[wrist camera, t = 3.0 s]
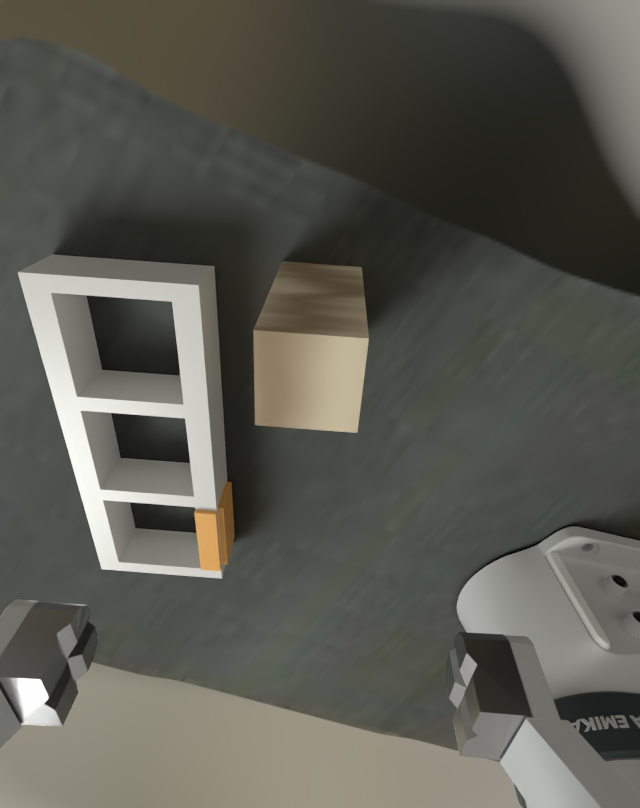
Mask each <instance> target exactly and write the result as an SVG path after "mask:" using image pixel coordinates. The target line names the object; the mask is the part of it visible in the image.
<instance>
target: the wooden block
mask: <svg viewBox="0 0 640 808" xmlns="http://www.w3.org/2000/svg"><path fill="white" fill-rule="evenodd" d="M253 332H254V388H255V425H260V426H273V427H287V428H300V429H314V430H327V431H340V432H354V433H357V431H358V423H359V415H360V406H361V398H362V390H363V382H364V374H365V366H366V357H367V349H368V341H369V335H368V325H367V315H366V305H365V294H364V284H363V274H362V267H355V266H341V265H327V264H313V263H299V262H285V261H282V263H281V265H280V268H279V270H278V273H277V275H276V277H275V280H274V282H273V285H272V287H271V289H270V292H269V294H268V297H267V299H266V301H265V304H264V306H263V309H262V311H261V313H260V316H259V318H258V321H257V323H256V325H255V328H254V330H253Z"/></svg>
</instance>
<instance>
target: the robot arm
mask: <svg viewBox="0 0 640 808" xmlns="http://www.w3.org/2000/svg"><path fill="white" fill-rule="evenodd" d="M457 613H458V617H459V620H460V622H461V623H462V625H463V627H464V628H465V630H466V632H459V633H457V634H456V636H455V639H454V645H455V649H454V650H453V651H451V652H449V656H448V659H447V665H446V681H447V689H448V695H449V698H450V700H451V701H452V702H453V703H454V705H455V706H456V707H457V712H456V714H455V717H454V719H453V723H454V728H455V733H456V739H457V744H458V749H459V755H460V756H467V757H477V758H487V759H496V760H501V761H500V763H501V765H502V766H503V767H504V769H505V770H506V772H507V774H508V775H509V776H510V778H511V780H512V781H513V783H514V786H515V790H516V793H517V797H518V800H519V803H520V805H521V806H522V807H523V808H640V541H638V540H634V539H630V538H625V537H621V536H617V535H612V534H608V533H604V532H599V531H595V530H591V529H586V528H582V527H567V528H564V529H562V530H560V531H558V532H556V533H554V534H553V535H551V536H550V537H548V538H547V539H545V540H544V541H542V542H541V543H539V544H538V545H536V546H534V547H531V548H528V549H526V550H522V551H519V552H516V553H513V554H510V555H508V556H505V557H503V558H500V559H498V560H496V561H494V562H492V563H491V564H489V565H487V566H486V567H484V568H483V569H481V570H480V571H479V572H477V573H476V574H475V575H474V576H473V577H472V578H471V579H470V580H469V581H468V582H467V583H466V585H465V586H464V587H463V589H462V591H461V593H460V595H459V598H458V602H457ZM90 615H91V613H90V610H89V608H88V605H80V604H66V603H53V602H42V601H31V600H14V601H13V602H12V603H11V604H10V605H9V606H8V607H7V608H6V609H5V610H4V612H3V613H2V615H1V616H0V748H1V747H2V746H3V745H4V744H5V743H6V742H7V741H8V740H9V739H10V738H11V737H12V736H13V735H14V734H15V733H16V732H17V731H18V730H19V729H20V728H21V724H24V725H26V724H27V725H47V726H63V724H64V722H65V720H66V718H67V716H68V713H69V711H70V709H71V707H72V705H73V703H74V700H75V698H76V696H77V694H78V690H77V685H76V681H77V680H78V679H79V678H80V677H81V676H82V675H84V674H85V673H86V672H87V671H88V669H89V667H90V665H91V662H92V660H93V658H94V654H95V650H96V646H97V631H96V628H95V626H94V625H93V624H91V623H90V622H89V621H88V620H89V617H90Z"/></svg>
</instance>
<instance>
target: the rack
mask: <svg viewBox="0 0 640 808" xmlns="http://www.w3.org/2000/svg"><path fill="white" fill-rule="evenodd" d="M18 275H19V279H20V282H21V286H22V289H23V293H24V296H25V300H26V303H27V307H28V310H29V314H30V318H31V321H32V325H33V328H34V332H35V335H36V339H37V342H38V346H39V349H40V353H41V356H42V360H43V363H44V367H45V371H46V374H47V378H48V381H49V385H50V388H51V392H52V395H53V399H54V402H55V406H56V409H57V413H58V417H59V420H60V424H61V427H62V431H63V434H64V438H65V441H66V445H67V448H68V452H69V455H70V459H71V462H72V466H73V470H74V473H75V477H76V480H77V484H78V487H79V491H80V494H81V498H82V501H83V505H84V508H85V512H86V515H87V519H88V523H89V526H90V530H91V533H92V537H93V540H94V544H95V547H96V551H97V554H98V558H99V561H100V565H101V568H102V569H106V570H119V571H132V572H145V573H158V574H171V575H184V576H196V577H209V578H222V577H223V573H224V569H225V565H227V564H228V560H229V556H230V553H231V549H232V545H233V541H234V537H235V536H234V518H233V499H232V482H227V465H226V449H225V432H224V416H223V399H222V383H221V366H220V349H219V333H218V316H217V300H216V283H215V267H214V266H205V265H192V264H178V263H164V262H150V261H136V260H122V259H108V258H94V257H80V256H66V255H51V256H49V257H47V258H45V259H43V260H41V261H39V262H37V263H35V264H33V265H31V266H29V267H27V268H25V269H23V270H21V271H19V272H18ZM87 295H88V296H102V297H116V298H130V299H144V300H157V301H171V302H172V306H173V315H174V323H175V332H176V341H177V350H178V359H179V368H180V375H167V374H153V373H139V372H126V371H112V370H102V367H101V362H100V357H99V352H98V348H97V343H96V338H95V333H94V329H93V324H92V319H91V314H90V310H89V305H88V300H87ZM111 413H119V414H132V415H146V416H159V417H173V418H185V421H186V430H187V439H188V448H189V457H190V463H183V462H170V461H157V460H143V459H130V458H121V457H120V452H119V447H118V443H117V438H116V433H115V428H114V424H113V419H112V414H111ZM130 502H133V503H146V504H159V505H172V506H185V507H195V512H194V515H195V523H196V532H197V533H192V532H179V531H166V530H153V529H140V528H135V523H134V518H133V514H132V509H131V504H130Z"/></svg>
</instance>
